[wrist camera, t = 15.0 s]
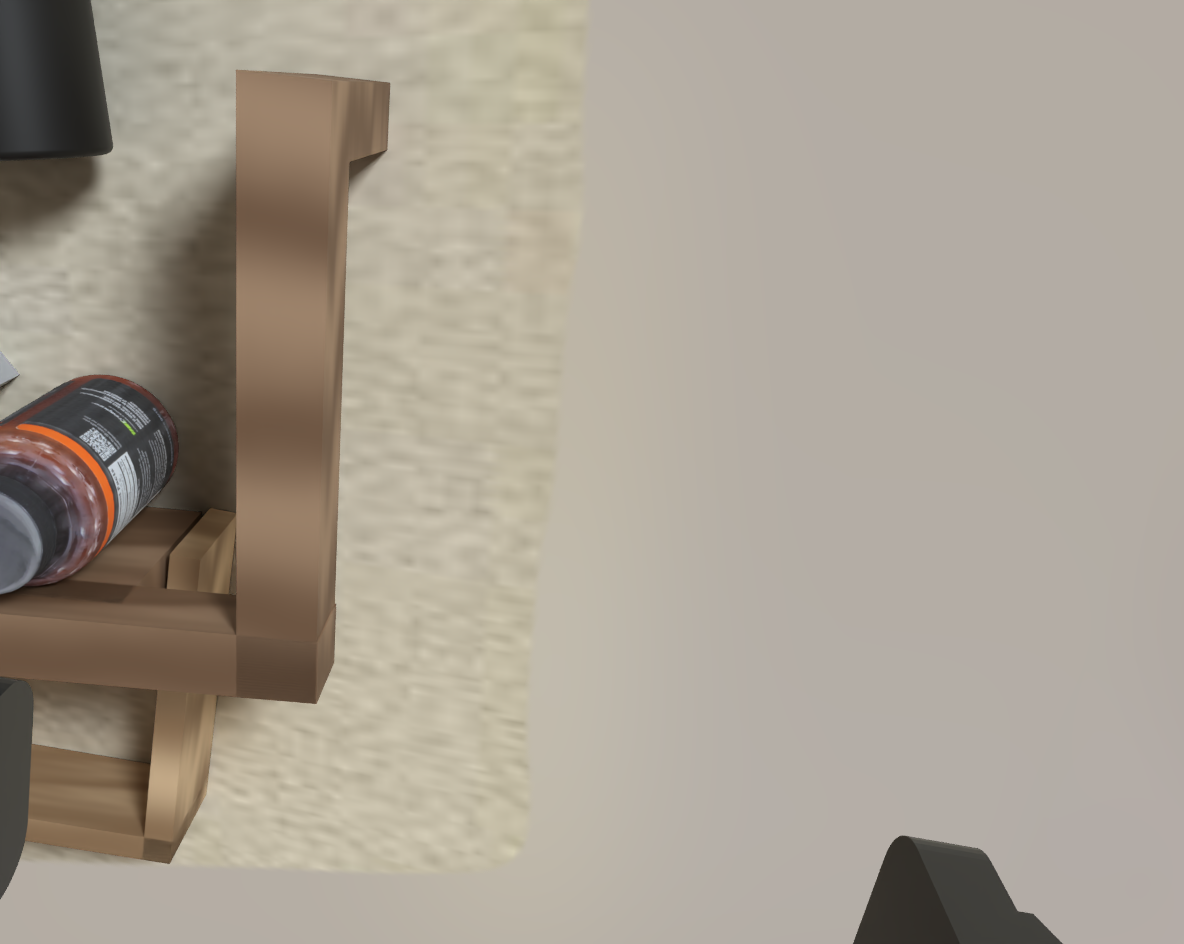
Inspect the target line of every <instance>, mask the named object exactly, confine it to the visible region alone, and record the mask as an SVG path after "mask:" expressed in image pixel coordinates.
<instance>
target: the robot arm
mask: <svg viewBox="0 0 1184 944" xmlns="http://www.w3.org/2000/svg"><path fill="white" fill-rule="evenodd" d="M32 727H33V693H32V690H31V687H30V685H29V684H28V683H27V682H26V681H21V680H16V679H10V678H4V677H0V899H1V897H2V896H3V894H4V892H5V891H6V889H7V887H8V885H9V883H10V881H11V879H12V877H13V875H14V872H15V870H16V867H17V865H18V862H19V859H20V856H21V853H22V850H23V846H24V842H25V838H26V832H27V825H28V810H29V789H30V768H31V747H32ZM853 944H1062V943H1061V942H1060V941H1059V940H1058V939H1057V938H1056V937H1055V936H1054V935H1053V934H1052V933H1051V932H1050V931H1049V930H1048V929H1047V927H1045V926H1044V925H1043V923H1041V921H1040V920H1039V919H1038V918H1037V917H1036V916H1034V914H1030V913H1024V912H1018V911H1017V909H1016V908H1015V906H1014V904H1013V902H1012V900H1011V898H1010V896H1009V895H1008V893H1007V891H1006V889H1005V887H1004V885H1003V883H1002V881H1001V880H1000V878H999V876H998V874H997V872H996V870H995V868H994V866H993V865H992V863H991V861H990V860H989V858H988V856H987V855H986V854H985V853H984V852H983V851H982V850H980V849H978V848H972V847H966V846H960V845H955V844H949V843H944V842H938V841H932V840H926V839H920V838H915V837H909V836H899V837H898V838H896V839H895V840H894V841H893V842H892V844H891V845H890V847H889V849H888V851H887V853H886V856H885V858H884V861H883V864H882V866H881V869H880V872H879V874H878V877H877V880H876V883H875V885H874V888H873V891H872V894H871V897H870V899H869V902H868V904H867V907H866V910H865V913H864V915H863V918H862V921H861V923H860V926H859V929H858V932H857V934H856V937H855V940H854V943H853Z"/></svg>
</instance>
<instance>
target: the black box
mask: <svg viewBox="0 0 1184 944" xmlns="http://www.w3.org/2000/svg"><path fill="white" fill-rule="evenodd" d="M112 149H113V142H112V135H111V129H110V122H109V116H108V109H107V103H106V97H105V90H104V84H103V77H102V71H101V64H100V58H99V51H98V45H97V39H96V32H95V26H94V19H93V13H92V6H91V0H0V161H12V160H39V159H59V158H75V157H88V156H97V155H103V154H107V153H109V152H111V150H112Z"/></svg>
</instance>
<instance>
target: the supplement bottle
mask: <svg viewBox="0 0 1184 944" xmlns="http://www.w3.org/2000/svg"><path fill="white" fill-rule="evenodd" d="M178 451H179V444H178V436H177V432H176V428H175V426H174V423H173V420H172V419H171V417H170V415H169V414H168V412H167V411H166V409H165V408H164V406H163V405H162V404H161V403H160V401H159V400H158V399H156V398H155V397H154V396H153V395H152V394H151V393H150V392H148V391H147V390H146V389H144V388H143V387H141V386H139V385H137V384H135V383H134V382H132V381H129V380H127V379H123V378H120V377H116V376H110V375H89V376H83V377H78V378H75V379H72V380H70V381H68V382H66V383H63V384H62V385H60V386H58V387H56V388H54V389H53V390H51V391H50V392H48V393H46V394H45V395H43V396H41V397H40V398H38V399H37V400H35V401H33V402H31V403H30V404H28V405H26V406H25V407H23V408H21V409H20V410H18V411H16V412H15V413H13V414H11V415H10V416H8V417H6V418H5V419H3V420H1V421H0V594H5V593H9V592H12V591H15V590H17V589H19V588H21V587H22V586H40V585H47V584H51V583H55V582H58V581H60V580H62V579H65V578H67V577H69V576H71V575H73V574H75V573H76V572H78V571H79V570H80V569H82V568H83V567H84V566H86V565H87V564H88V563H89V562H90V561H91V560H92V559H93V558H94V557H95V556H96V555H97V554H98V553H99V552H101V551H102V550H103V549H104V547H105V546H106V545H107V544H108V543H109V542H110V541H111V540H112V539H113V538H114V537H115V536H116V535H117V534H118V533H119V532H120V531H121V530H122V529H123V528H124V527H125V526H126V525H127V524H128V523H129V522H130V521H131V520H132V519H133V518H134V517H135V516H136V515H137V514H138V513H139V512H140V511H141V510H142V509H143V508H144V507H145V506H146V505H147V504H148V503H149V502H150V501H151V500H152V499H153V498H154V497H155V496H156V495H157V494H158V493H159V492H160V491H161V489H162V488H163V487H164V486H165V484H166V483H167V482H168V481H169V480H170V478H171V476H172V474H173V472H174V470H175V467H176V464H177V459H178Z"/></svg>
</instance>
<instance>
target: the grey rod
mask: <svg viewBox="0 0 1184 944" xmlns="http://www.w3.org/2000/svg"><path fill="white" fill-rule="evenodd" d="M18 375H20V374H19V373H18V372H17V371H16V369H15V368H14V367H13V366H12V364H11V363H10V362H9V361H8V359H7V358H6V357H5V356H4V355H3V353H2V352H1V351H0V387H2V386H3V385H5V384H6V383H8V382H9V381H11V380H12V379H14V378H15V377H17V376H18Z"/></svg>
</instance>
